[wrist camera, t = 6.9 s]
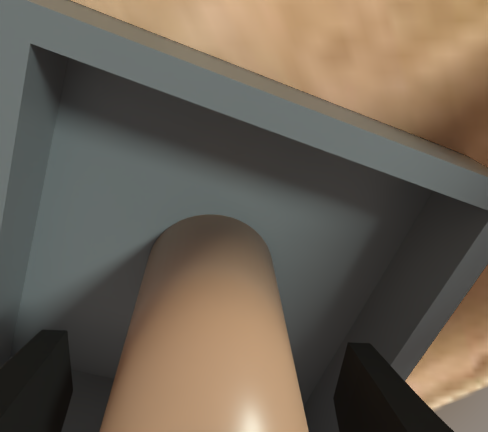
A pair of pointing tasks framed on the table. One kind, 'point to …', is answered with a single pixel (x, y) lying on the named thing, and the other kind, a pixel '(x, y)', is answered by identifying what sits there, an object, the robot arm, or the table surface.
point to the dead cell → (207, 338)
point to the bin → (214, 200)
